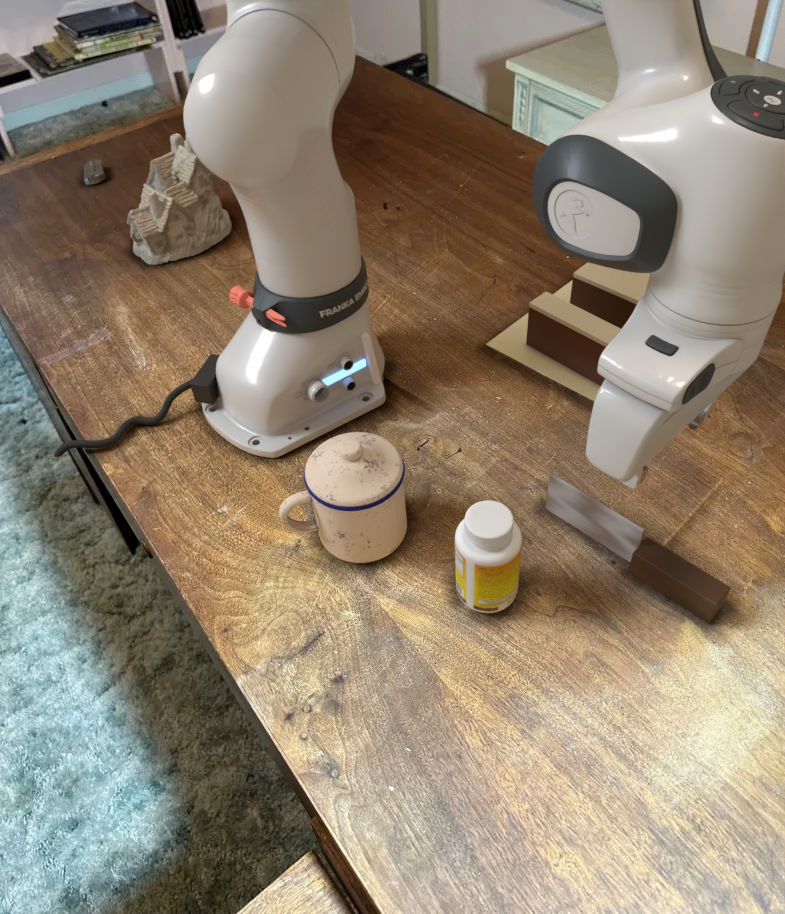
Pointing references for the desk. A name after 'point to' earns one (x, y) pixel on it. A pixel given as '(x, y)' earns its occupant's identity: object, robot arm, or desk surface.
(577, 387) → the platter
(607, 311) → the cake
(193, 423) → the desk surface
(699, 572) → the knife
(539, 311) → the tan-topped brown brick
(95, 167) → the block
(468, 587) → the supplement bottle
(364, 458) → the teacup with lid
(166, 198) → the ceramic cottage
